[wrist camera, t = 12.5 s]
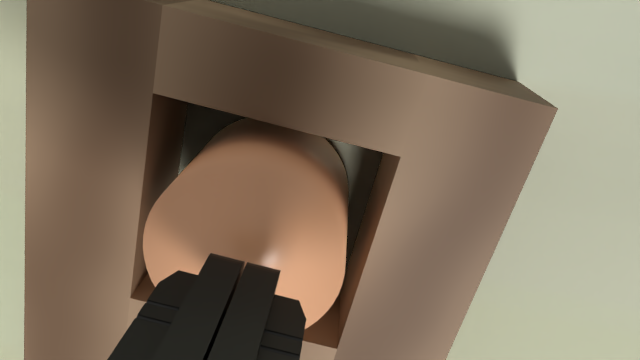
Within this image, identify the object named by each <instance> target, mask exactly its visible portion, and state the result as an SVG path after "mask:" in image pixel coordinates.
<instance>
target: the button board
mask: <svg viewBox="0 0 640 360" xmlns="http://www.w3.org/2000/svg"><path fill="white" fill-rule="evenodd" d="M188 102H189V103H193V104H197V105H201V106H205V107H209V108H213V109H217V110H220V111H224V112H228V113H232V114H236V115H240V116H244V117H248V118H252V119H255V120H259V121H263V122H267V123H271V124H275V125H279V126H283V127H286V128H290V129H294V130H298V131H302V132H306V133H310V134H314V135H318V136H321V137H325V138H329V139H333V140H337V141H341V142H345V143H349V144H353V145H356V146H360V147H364V148H368V149H372V150H376V151H380V152H383V155H382V158H381V161H380V165H379V168H378V171H377V174H376V177H375V181H374V184H373V187H372V190H371V193H370V196H369V200H368V203H367V206H366V209H365V212H364V215H363V219H362V222H361V225H360V228H359V231H358V235H357V238H356V241H355V244H354V247H353V250H352V254H351V257H350V260H349V263H348V266H347V269H346V273H345V276H344V280H343V284H342V287H341V289H340V292H339V294H338V296H337V298H336V300H335V301H334V303H333V305H332V306H331V307H330V308H329V310H328V311H327V312H326V313H325V314H324V315H323V316H322V317H321V318H320V319H319V320H318V321H317V322H315V323H314V324H312V325H311V326H309V327H308V328H306V329H305V330H304V336H303V341H302V348H301V354H300V360H446V358H447V355H448V353H449V351H450V349H451V346H452V344H453V342H454V340H455V337H456V335H457V333H458V331H459V329H460V326H461V324H462V322H463V320H464V317H465V315H466V313H467V311H468V308H469V306H470V304H471V302H472V300H473V297H474V295H475V293H476V291H477V288H478V286H479V284H480V282H481V279H482V277H483V275H484V273H485V270H486V268H487V266H488V264H489V262H490V259H491V257H492V255H493V253H494V250H495V248H496V246H497V244H498V241H499V239H500V237H501V235H502V233H503V230H504V228H505V226H506V224H507V221H508V219H509V217H510V215H511V212H512V210H513V208H514V206H515V203H516V201H517V199H518V197H519V195H520V192H521V190H522V188H523V186H524V183H525V181H526V179H527V177H528V174H529V172H530V170H531V168H532V166H533V163H534V161H535V159H536V157H537V154H538V152H539V150H540V148H541V145H542V143H543V141H544V139H545V137H546V134H547V132H548V130H549V128H550V125H551V123H552V121H553V119H554V116H555V114H556V112H557V110H558V108H556V107H555V106H553V105H552V104H550V103H549V102H547V101H546V100H544V99H543V98H541V97H540V96H539V95H537V94H536V93H534V92H533V91H531V90H530V89H528V88H527V87H525V86H524V85H522V84H521V83H519V82H517V81H514V80H510V79H506V78H502V77H498V76H495V75H491V74H487V73H483V72H479V71H476V70H472V69H468V68H464V67H460V66H457V65H453V64H449V63H445V62H441V61H438V60H434V59H430V58H426V57H422V56H419V55H415V54H411V53H407V52H403V51H400V50H396V49H392V48H388V47H384V46H381V45H377V44H373V43H369V42H365V41H361V40H358V39H354V38H350V37H346V36H342V35H339V34H335V33H331V32H327V31H323V30H320V29H316V28H312V27H308V26H304V25H301V24H297V23H293V22H289V21H285V20H282V19H278V18H274V17H270V16H266V15H263V14H259V13H255V12H251V11H247V10H244V9H240V8H236V7H232V6H228V5H225V4H221V3H217V2H213V1H209V0H27V41H26V179H25V317H24V360H107V359H108V358H109V356H110V355H111V353H112V352H113V350H114V349H115V347H116V346H117V344H118V343H119V341H120V340H121V338H122V337H123V335H124V334H125V332H126V331H127V329H128V328H129V326H130V325H131V323H132V322H133V320H134V319H135V318H137V314H138V313H139V311H140V310H141V308H142V307H143V305H144V304H145V303H146V302H147V299H148V298H149V296H150V295H151V293H152V292H153V290H154V289H155V286H154V284H153V282H152V281H151V278H150V276H149V273H148V271H147V268H146V264H145V260H144V254H143V234H144V228H145V224H146V221H147V218H148V215H149V213H150V211H151V209H152V207H153V206H154V204H155V202H156V201H157V200H158V198H159V197H160V196H161V195H162V193H163V192H164V191H165V190H166V189H167V188H168V187H169V185H170V184H171V183H172V182H173V181H174V180H175V179H176V178H177V177H178V171H179V163H180V156H181V149H182V142H183V135H184V128H185V121H186V114H187V107H188Z"/></svg>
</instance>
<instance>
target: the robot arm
mask: <svg viewBox="0 0 640 360" xmlns="http://www.w3.org/2000/svg"><path fill="white" fill-rule="evenodd" d="M244 266H245V261H241V260H237V259H233V258H229V257H225V256H221V255H217V254H213V253H210V255H209V256H208V258H207V260H206V261H205V263H204V265H203V267H202V269H201V270H200V272H199V274H198V275H196V274H192V273H188V272H184V271H180V270H178V271H176V272H175V273H173V274H172V275H170V276H168V277H167V278H165V279H163V280H162V281H160V282H159V283H158V284H157V286H156V287H155V289H154V290H153V292H152V293H151V295H150V296H149V298H148V299H147V302H146V303H145V304H144V305H143V307H142V308H141V310H140V311H139V313H138V314H137V318H135V319H134V320H133V322H132V323H131V325H130V326H129V328H128V329H127V331H126V332H125V334H124V335H123V337H122V338H121V340H120V341H119V343H118V344H117V346H116V347H115V349H114V350H113V352H112V353H111V355H110V356H109V358H108V359H107V360H300V354H301V348H302V341H303V336H304V330H305V324H306V317H305V314H304V312H303V309H302V307H301V304H300V301H299V300H295V299H291V298H287V297H284V296H280V295H276V294H275V292H276V288H277V284H278V280H279V276H280V271H281V270H277V269H273V268H269V267H265V266H261V265H257V264H253V263H249V262H247V264H246V266H245V268H244Z"/></svg>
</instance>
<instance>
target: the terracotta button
mask: <svg viewBox="0 0 640 360" xmlns="http://www.w3.org/2000/svg"><path fill="white" fill-rule="evenodd" d="M348 202H349V185H348V179H347V174H346V171H345V168H344V165H343V163H342V161H341V159H340V157H339V156H338V154H337V153H336V151H335V150H334V148H333V147H332V146H331V145H330V144H329V143H328V141H327V140H326V139H325V138H323V137H321V136H318V135H314V134H310V133H306V132H302V131H298V130H294V129H290V128H286V127H283V126H279V125H275V124H271V123H267V122H263V121H259V120H255V119H252V118H245V119H242V120H239V121H236V122H234V123H232V124H230V125H228V126H226V127H225V128H223V129H222V130H221V131H219V132H218V133H217V134H216V135H215V136H214V137H213V138H212V139H211V140H210V141H209V142H208V143H207V144H206V145H205V146H204V148H203V149H202V150H201V151H200V152H199V153H198V154H197V155H196V156H195V158H194V159H193V160H192V161H191V162H190V163H189V164H188V165H187V166H186V168H185V169H184V170H183V171H182V172H181V173H180V174H179V175H178V177H177V178H176V179H175V180H174V181H173V182H172V183H171V184H170V185H169V187H168V188H167V189H166V190H165V191H164V192H163V193H162V195H161V196H160V197H159V198H158V200H157V201H156V202H155V204H154V206H153V207H152V209H151V211H150V213H149V215H148V218H147V221H146V224H145V228H144V234H143V254H144V260H145V264H146V268H147V271H148V273H149V276H150V278H151V281H152V282H153V284H154V286H155V287H156V286H157V284H158V283H159V282H160V281H162V280H163V279H165V278H167V277H168V276H170V275H172V274H173V273H175V272H176V271H178V270H180V271H184V272H188V273H192V274H196V275H198V274H199V272H200V270H201V269H202V267H203V265H204V263H205V261H206V260H207V258H208V256H209V255H210V253H213V254H217V255H221V256H225V257H229V258H233V259H237V260H241V261H245V266H246V264H247V262H249V263H253V264H257V265H261V266H265V267H269V268H273V269H277V270H281V271H280V276H279V280H278V284H277V288H276V292H275V294H276V295H280V296H284V297H287V298H291V299H295V300H299V301H300V304H301V307H302V309H303V312H304V314H305V317H306V324H305V329H306V328H308V327H309V326H311V325H312V324H314V323H315V322H317V321H318V320H319V319H320V318H321V317H322V316H323V315H324V314H325V313H326V312H327V311H328V310H329V308H330V307H331V306H332V305H333V303H334V301H335V300H336V298H337V296H338V294H339V292H340V289H341V287H342V284H343V280H344V275H345V265H346V245H347V224H348ZM245 266H244V268H245Z"/></svg>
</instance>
